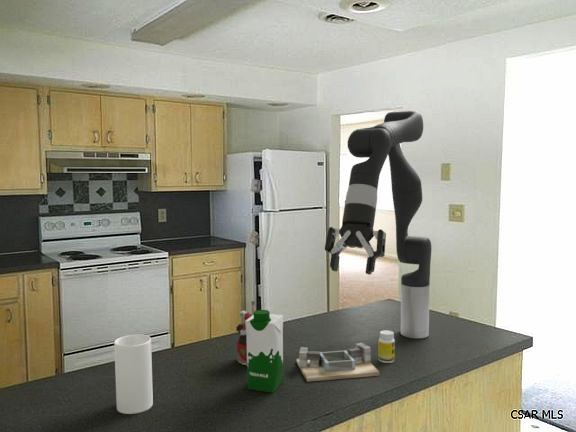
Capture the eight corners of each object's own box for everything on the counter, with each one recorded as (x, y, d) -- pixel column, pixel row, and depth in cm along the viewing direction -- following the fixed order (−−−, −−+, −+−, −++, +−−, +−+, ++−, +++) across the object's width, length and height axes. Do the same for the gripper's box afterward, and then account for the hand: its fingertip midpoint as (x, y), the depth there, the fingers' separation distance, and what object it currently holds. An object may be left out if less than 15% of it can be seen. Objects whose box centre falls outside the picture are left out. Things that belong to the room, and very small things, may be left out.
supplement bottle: (394, 364, 144) (395, 335, 143) (377, 362, 145) (378, 334, 144) (394, 357, 148) (394, 330, 148) (378, 356, 149) (378, 329, 149)
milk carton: (242, 390, 127) (241, 313, 125) (256, 376, 136) (255, 303, 134) (275, 395, 124) (274, 316, 122) (287, 380, 133) (286, 306, 131)
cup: (121, 398, 123) (119, 334, 121) (155, 397, 124) (153, 333, 122) (112, 414, 115) (110, 346, 113) (149, 413, 115) (147, 345, 114)
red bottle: (277, 358, 148) (276, 299, 147) (262, 370, 140) (261, 307, 138) (245, 353, 153) (245, 295, 151) (229, 364, 144) (228, 303, 143)
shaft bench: (295, 362, 146) (294, 345, 145) (363, 356, 149) (363, 340, 149) (305, 381, 132) (305, 363, 131) (380, 375, 136) (381, 357, 135)
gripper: (393, 211, 121) (385, 278, 117) (339, 209, 128) (329, 272, 124) (384, 202, 114) (374, 272, 111) (327, 200, 121) (316, 266, 118)
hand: (350, 272), depth 117 cm, fingers open, 8 cm apart
